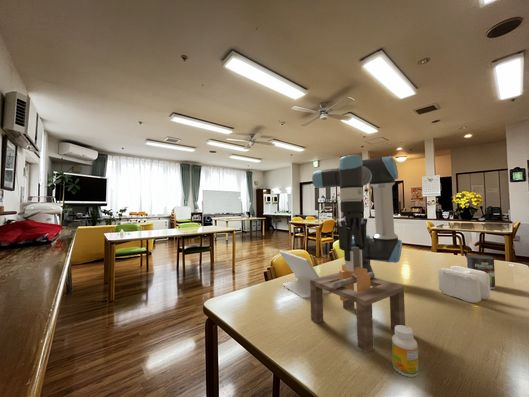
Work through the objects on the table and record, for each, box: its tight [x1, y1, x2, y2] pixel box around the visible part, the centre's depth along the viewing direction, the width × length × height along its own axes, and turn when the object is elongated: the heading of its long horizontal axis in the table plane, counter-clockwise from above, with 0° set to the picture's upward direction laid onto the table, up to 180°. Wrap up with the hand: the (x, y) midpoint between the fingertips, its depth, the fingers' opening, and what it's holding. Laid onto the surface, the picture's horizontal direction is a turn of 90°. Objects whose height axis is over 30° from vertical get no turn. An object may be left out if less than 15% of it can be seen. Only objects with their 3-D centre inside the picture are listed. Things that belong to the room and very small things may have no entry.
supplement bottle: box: [391, 325, 419, 378], centre depth 56 cm, size 5×5×10 cm
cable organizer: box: [437, 265, 492, 304], centre depth 98 cm, size 15×11×12 cm
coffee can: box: [465, 253, 497, 290], centre depth 112 cm, size 10×10×14 cm
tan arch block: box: [338, 247, 372, 302], centre depth 78 cm, size 8×5×18 cm, turn 32°
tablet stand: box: [278, 249, 331, 299], centre depth 115 cm, size 18×25×17 cm
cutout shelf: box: [310, 271, 406, 353], centre depth 77 cm, size 22×20×16 cm
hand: (354, 269), depth 78 cm, fingers closed on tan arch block, 4 cm apart
